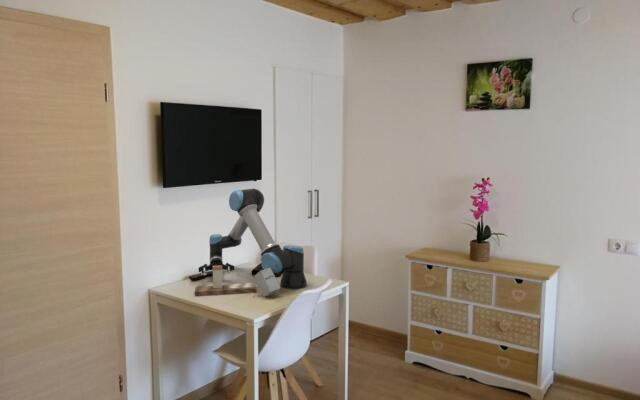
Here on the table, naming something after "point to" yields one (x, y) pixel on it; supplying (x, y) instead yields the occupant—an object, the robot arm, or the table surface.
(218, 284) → the stub
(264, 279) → the supplement box
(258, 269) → the diary
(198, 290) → the board
